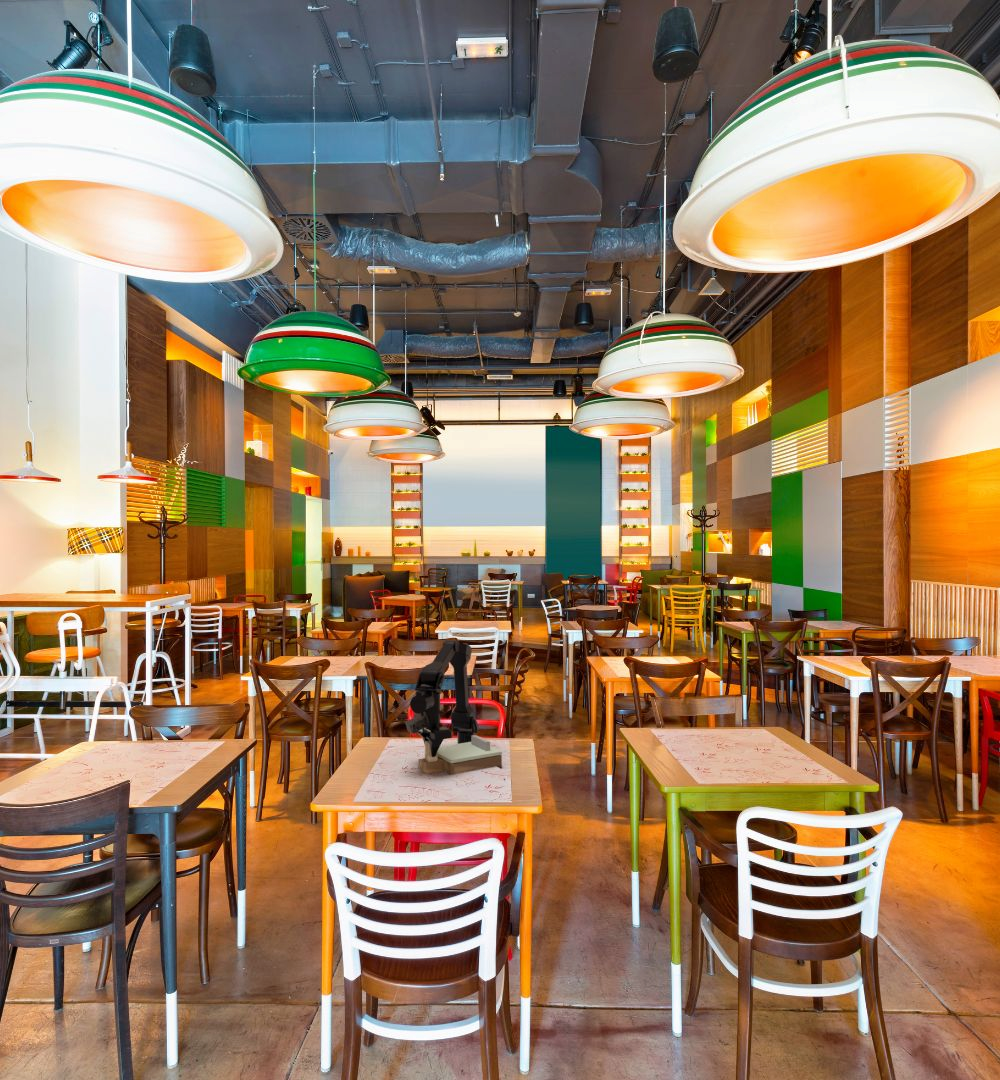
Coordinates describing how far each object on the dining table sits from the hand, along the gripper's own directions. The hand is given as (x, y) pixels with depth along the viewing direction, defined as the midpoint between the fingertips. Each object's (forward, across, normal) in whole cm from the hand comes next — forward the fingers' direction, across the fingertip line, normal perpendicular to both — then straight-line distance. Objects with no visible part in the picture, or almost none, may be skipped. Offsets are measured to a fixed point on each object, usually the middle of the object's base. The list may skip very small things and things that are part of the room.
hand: (431, 755), depth 215 cm
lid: (+1, 0, +13) cm, 13 cm away
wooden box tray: (+6, 0, +9) cm, 11 cm away
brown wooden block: (+4, 0, 0) cm, 4 cm away
